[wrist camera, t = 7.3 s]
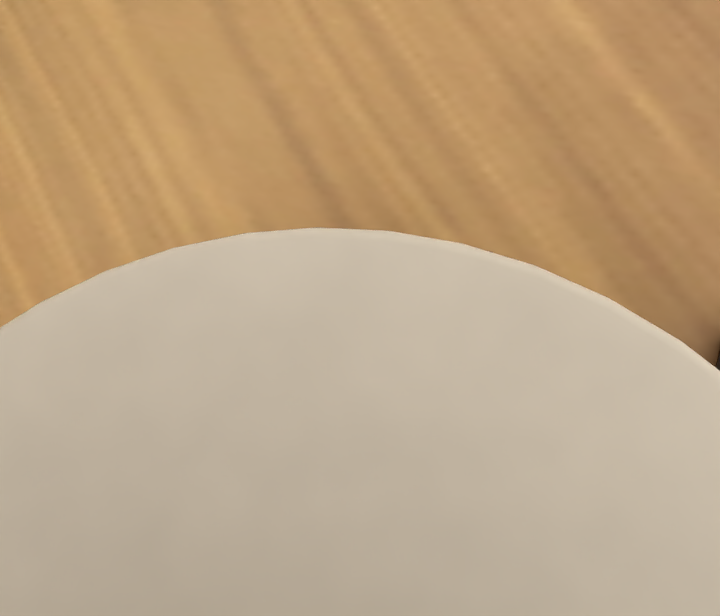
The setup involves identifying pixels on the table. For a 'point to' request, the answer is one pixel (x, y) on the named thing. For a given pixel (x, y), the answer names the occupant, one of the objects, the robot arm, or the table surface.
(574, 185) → the table surface
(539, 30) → the table surface
